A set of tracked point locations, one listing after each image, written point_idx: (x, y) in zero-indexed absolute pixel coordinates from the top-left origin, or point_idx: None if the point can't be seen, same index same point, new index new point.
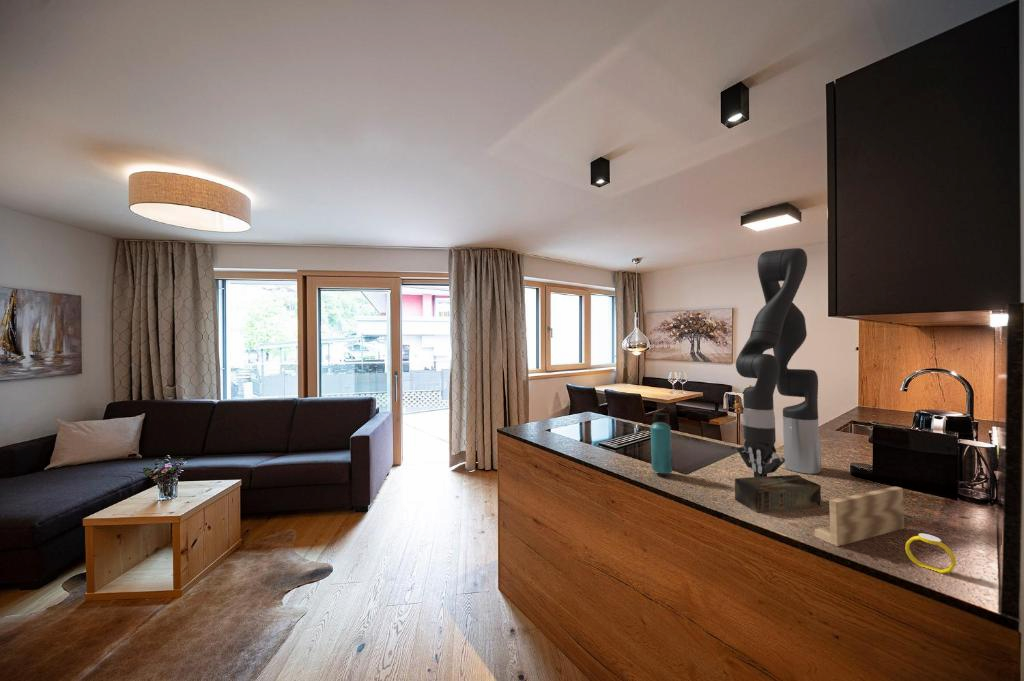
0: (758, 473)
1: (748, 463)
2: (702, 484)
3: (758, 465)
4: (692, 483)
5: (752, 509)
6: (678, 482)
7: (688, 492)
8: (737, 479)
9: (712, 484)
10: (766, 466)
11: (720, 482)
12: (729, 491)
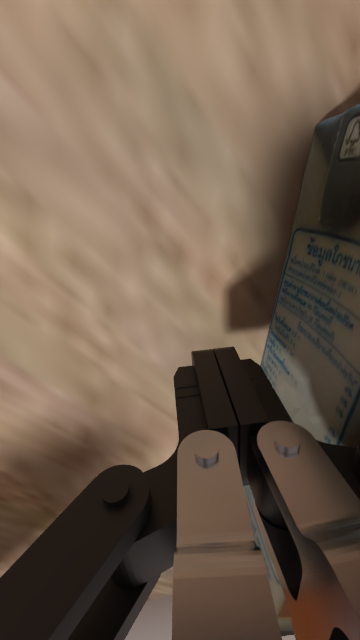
0: (249, 482)
1: (134, 593)
2: (34, 516)
3: (294, 598)
4: (18, 541)
5: None
6: (4, 573)
7: None
8: (290, 634)
9: (37, 483)
10: (342, 520)
11: (6, 437)
12: (141, 466)
